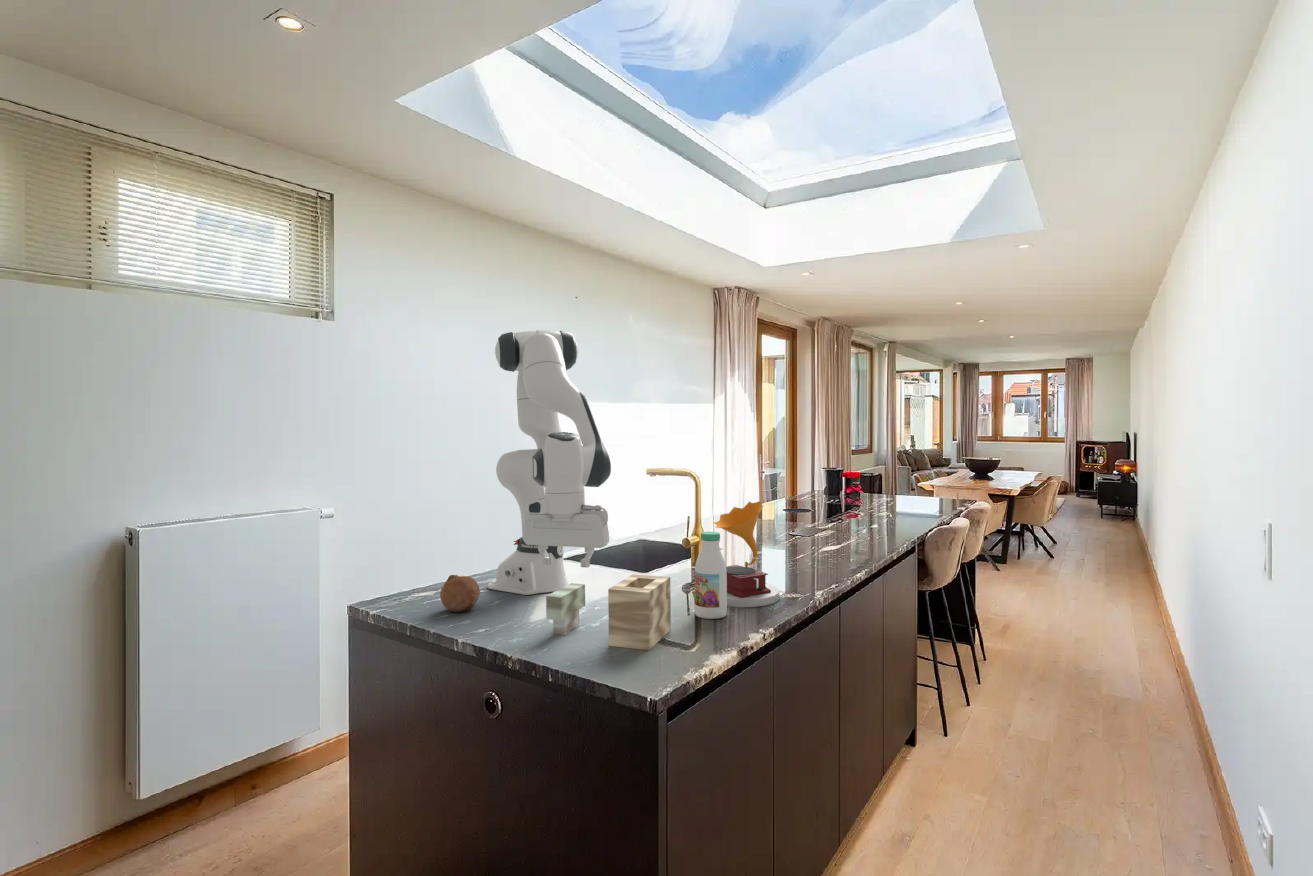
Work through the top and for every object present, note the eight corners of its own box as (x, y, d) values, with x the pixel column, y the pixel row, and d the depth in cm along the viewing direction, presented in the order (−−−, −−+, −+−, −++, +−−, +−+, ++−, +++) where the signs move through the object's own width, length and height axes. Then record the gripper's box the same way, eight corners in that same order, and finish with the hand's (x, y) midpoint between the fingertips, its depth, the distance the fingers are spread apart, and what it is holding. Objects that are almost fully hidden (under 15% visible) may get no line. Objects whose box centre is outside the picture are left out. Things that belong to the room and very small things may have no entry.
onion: (445, 623, 171) (427, 587, 171) (476, 605, 177) (459, 570, 177) (460, 617, 164) (442, 579, 164) (492, 599, 170) (474, 562, 171)
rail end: (561, 638, 149) (560, 597, 149) (546, 636, 150) (546, 596, 150) (585, 622, 160) (584, 584, 160) (571, 621, 161) (571, 583, 161)
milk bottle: (709, 608, 171) (708, 528, 170) (733, 615, 165) (733, 532, 165) (688, 615, 166) (687, 532, 165) (712, 622, 160) (712, 536, 159)
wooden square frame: (649, 650, 141) (648, 592, 141) (608, 645, 144) (608, 589, 144) (670, 630, 154) (670, 577, 154) (633, 626, 157) (633, 574, 157)
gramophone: (745, 583, 196) (745, 496, 196) (796, 599, 179) (796, 504, 178) (686, 593, 185) (686, 501, 185) (734, 612, 168) (734, 510, 167)
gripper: (613, 503, 153) (614, 565, 154) (532, 502, 160) (534, 561, 161) (601, 507, 148) (602, 571, 148) (518, 505, 154) (519, 566, 155)
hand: (566, 566), depth 154 cm, fingers open, 8 cm apart
